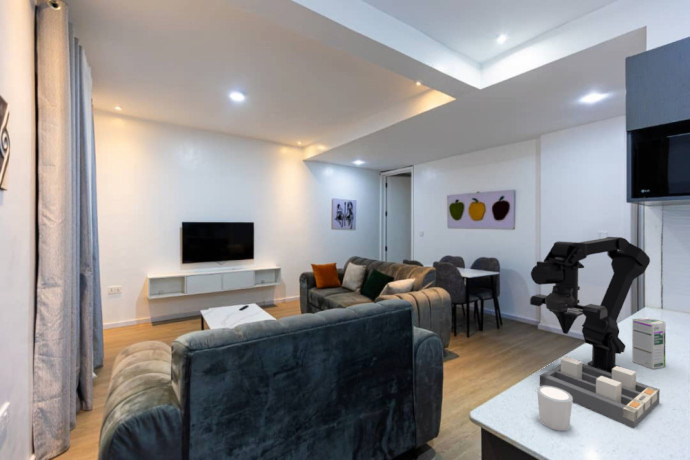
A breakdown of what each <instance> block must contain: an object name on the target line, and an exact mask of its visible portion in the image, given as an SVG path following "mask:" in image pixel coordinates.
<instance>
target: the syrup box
mask: <svg viewBox="0 0 690 460" xmlns="http://www.w3.org/2000/svg"><path fill="white" fill-rule="evenodd" d="M631 329H632V331H631V332H632V337H631V338H632V350H631V351H632V353H631V354H632V355H631V357H632V362H633V363H635V364H637V365H640V366H642V367H644V368H645V367H646V368H648V369H651V370H655V369H660V368H666V322H665V321H662V320H660V319H655V318H651V317H646V316H644V317H641V318H632V328H631Z"/></svg>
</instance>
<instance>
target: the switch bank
mask: <svg viewBox="0 0 690 460" xmlns="http://www.w3.org/2000/svg"><path fill="white" fill-rule="evenodd" d="M600 376H604V377H606V378H609V379H612V373H611V372H608V371H605V370H602V369H599V368H596V367H593V366H590V365H587V364H584V363H582V379H579V378H576V377H574V376H571V375H568V374H566V373H563V372H561V363H560V364H559V365H557V366H555V367H553V368H550V369H549V370H547V371H545V372H544V373H542V374H539V386H553V387H557V388H560V389H562V390H564V391H566V392H568V393H569V394H570V395H571V396H572V398H573V401H572V403H575V404H578V405H580V406H582V407H584V408H586V409H589V410H591V411H593V412H596V413H598V414H601V415H602V416H606V417H607V418H609V419H612V420H614V421H617V422H618V423H621V424H624V425H626V426H629V427H631V428H633V429H635V428H636V426H638V425H639V424H640V423H641V422H642V421H643V420H644V419H645V418H646V417H647V416H648V415H649V414H650V413H651V412H652V411H653V410H654V409H656V407H657V406H658V405H659V404H660V392H661V391H660V388H656V387H653V386H652V385H651V386H650V385H648V384H644V383H642V382H638V381H636V391H635V390H632V389H629V388H627V387H624V386H621V403H619V402H616V401H614V400H611V399H609V398H606V397H603V396H601V395H598V394H596V379H597V378H599V377H600Z"/></svg>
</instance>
